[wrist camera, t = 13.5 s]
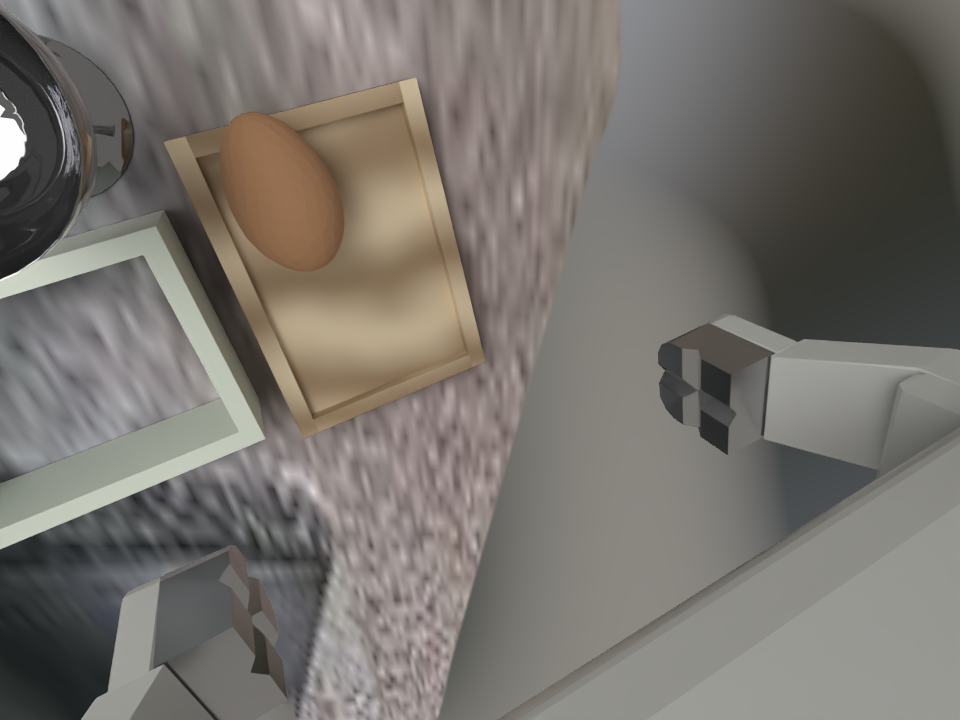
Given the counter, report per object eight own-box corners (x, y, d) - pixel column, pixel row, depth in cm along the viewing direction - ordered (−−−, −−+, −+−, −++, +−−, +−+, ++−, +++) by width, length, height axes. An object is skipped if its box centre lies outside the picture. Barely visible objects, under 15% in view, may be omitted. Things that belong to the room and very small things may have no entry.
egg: (377, 237, 30) (312, 86, 26) (343, 279, 26) (260, 107, 22) (300, 258, 32) (227, 118, 28) (256, 300, 28) (163, 143, 24)
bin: (-218, 319, 24) (-309, 363, 20) (164, 209, 28) (155, 226, 24) (-35, 514, 30) (-75, 580, 26) (258, 399, 34) (265, 438, 30)
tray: (165, 141, 27) (163, 142, 26) (407, 79, 31) (416, 77, 29) (300, 427, 36) (303, 438, 35) (476, 353, 39) (485, 361, 38)
